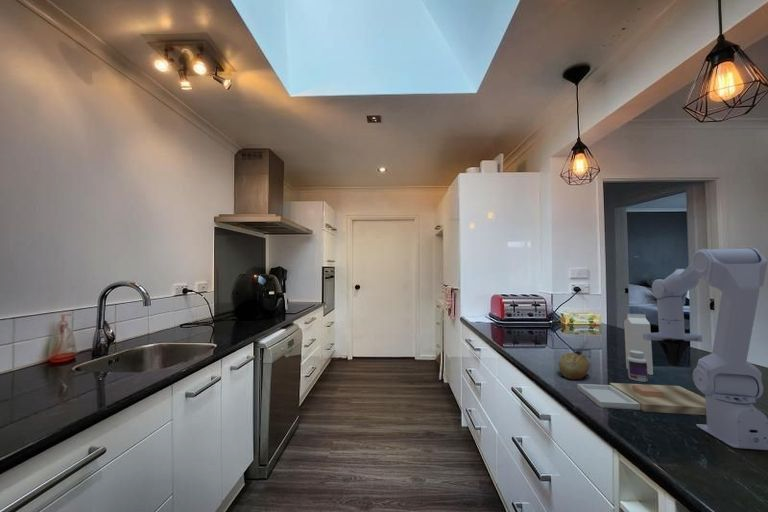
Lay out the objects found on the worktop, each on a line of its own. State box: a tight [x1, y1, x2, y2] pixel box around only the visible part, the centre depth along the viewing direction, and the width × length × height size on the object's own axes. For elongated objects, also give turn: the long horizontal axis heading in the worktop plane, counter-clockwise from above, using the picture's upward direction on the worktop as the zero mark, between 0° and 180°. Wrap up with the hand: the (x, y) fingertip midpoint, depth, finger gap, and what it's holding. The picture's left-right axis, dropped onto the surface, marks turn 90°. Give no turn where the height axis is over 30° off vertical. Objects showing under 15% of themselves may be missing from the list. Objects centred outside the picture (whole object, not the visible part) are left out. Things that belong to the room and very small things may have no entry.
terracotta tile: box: [632, 384, 663, 398], centre depth 89 cm, size 5×5×2 cm
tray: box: [576, 383, 641, 411], centre depth 91 cm, size 10×14×2 cm
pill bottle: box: [627, 351, 649, 383], centre depth 107 cm, size 5×5×10 cm
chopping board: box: [609, 382, 706, 416], centre depth 89 cm, size 20×16×2 cm
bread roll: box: [558, 352, 591, 381], centre depth 112 cm, size 10×15×8 cm, turn 142°
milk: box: [623, 313, 654, 376], centre depth 115 cm, size 6×6×22 cm
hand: (673, 364), depth 90 cm, fingers closed
